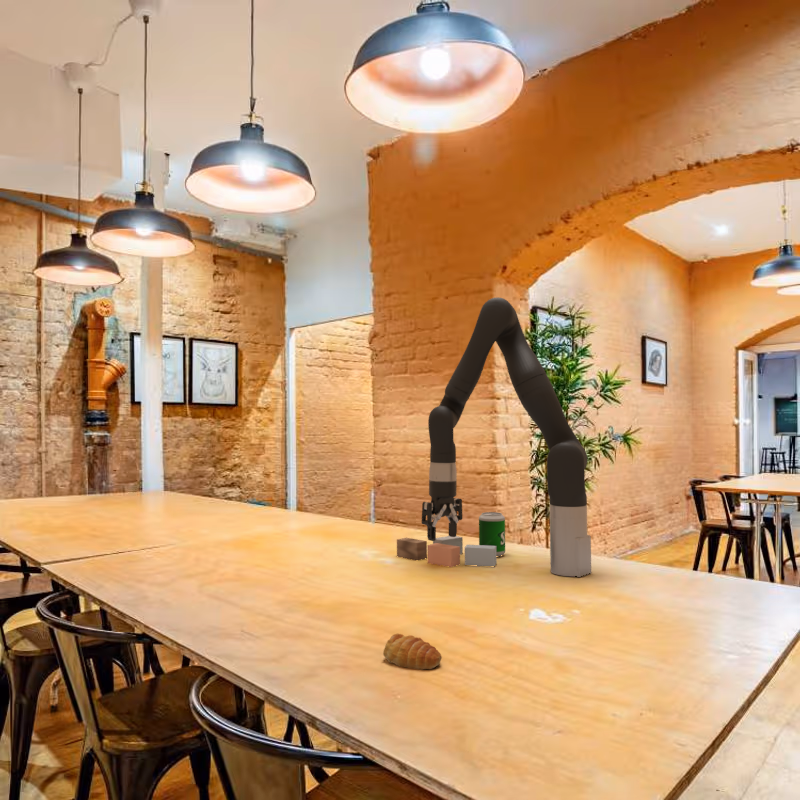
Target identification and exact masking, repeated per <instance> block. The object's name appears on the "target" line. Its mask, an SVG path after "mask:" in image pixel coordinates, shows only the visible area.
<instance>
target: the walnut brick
mask: <svg viewBox="0 0 800 800" xmlns="http://www.w3.org/2000/svg"><path fill="white" fill-rule="evenodd" d="M427 545H428V542H427V540H422V539H417V538H412V537H411V538H410V537H404V538H398V539H396V557H397V556H398V558H401V557H403V558H402V559H406V558H407V559H408V560H411V559H412V560H413V561H416V560H418V561H421V559H422V560H426V559H425V558H427V559H428V548H427ZM407 559H406V560H407ZM412 560H411V561H412Z"/></svg>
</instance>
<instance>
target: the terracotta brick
mask: <svg viewBox="0 0 800 800" xmlns="http://www.w3.org/2000/svg"><path fill="white" fill-rule="evenodd" d="M430 563H431V565H435V564H437V565H436V566H441V565H443V566H442V567H446V566H449V567H448V568H454V567H457V566H456V565H458V566H460V565H461V554H460V547H459V546H453V545H446V544H439V543H434V544H433V543H431V544H427V564H430ZM459 564H460V565H459ZM453 566H454V567H453Z"/></svg>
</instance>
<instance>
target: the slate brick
mask: <svg viewBox="0 0 800 800" xmlns="http://www.w3.org/2000/svg"><path fill="white" fill-rule="evenodd" d="M463 539H464V538H463V536H458V535H456V537H450V536H449V535H446V536H439V537H436V540H435V541H432V544H434V543H439V544H446V545H453V546H459V547H460V555H463V554H462V553H463V547H464V545H463V543H464V542H463Z"/></svg>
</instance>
